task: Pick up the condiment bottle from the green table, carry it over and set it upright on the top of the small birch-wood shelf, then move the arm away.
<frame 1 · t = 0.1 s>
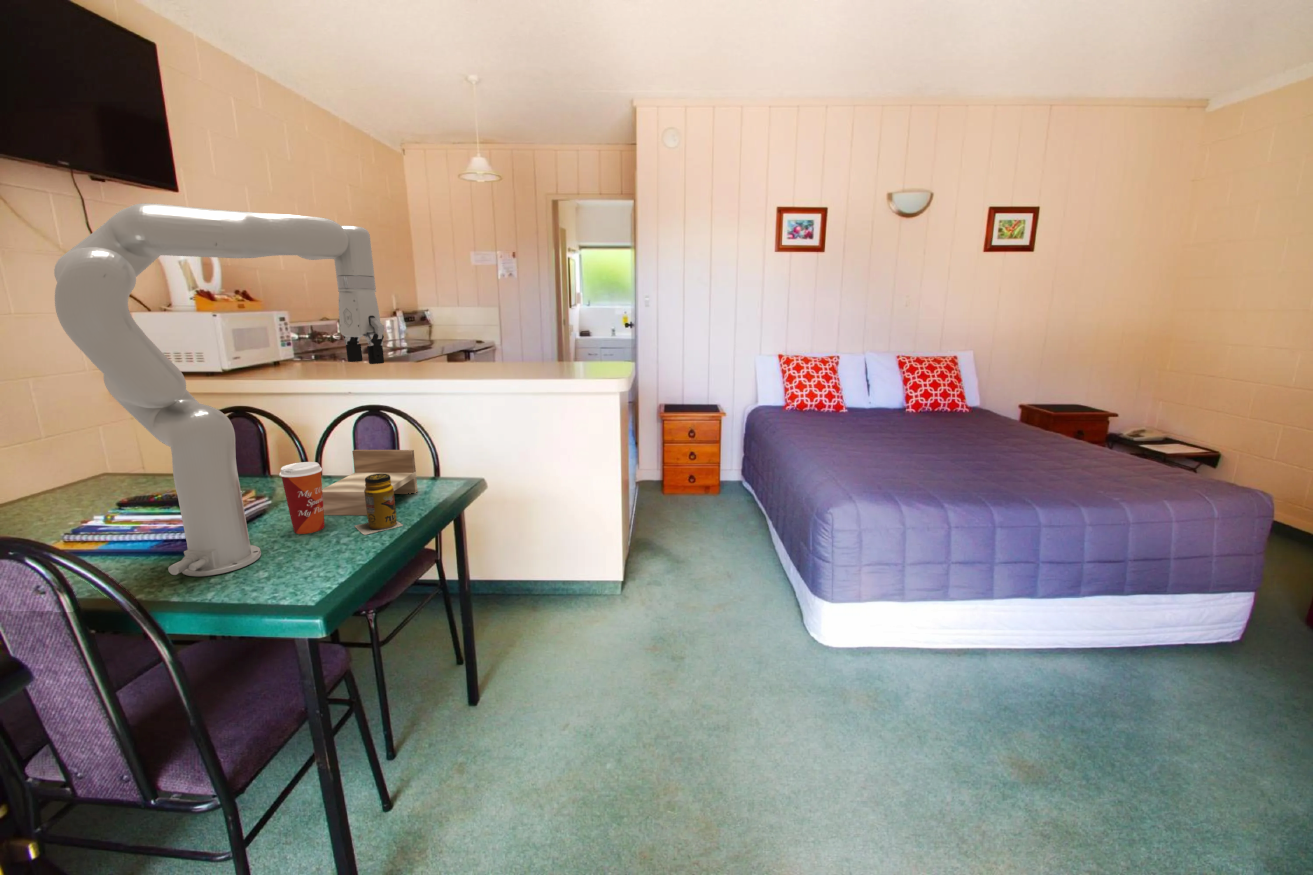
hand: (365, 362, 129), 37 cm above the table, tool pointing down, fingers open, 9 cm apart
shelf: (372, 502, 146), on the table
coffee cup: (309, 529, 129), on the table
condiment: (379, 527, 130), on the table
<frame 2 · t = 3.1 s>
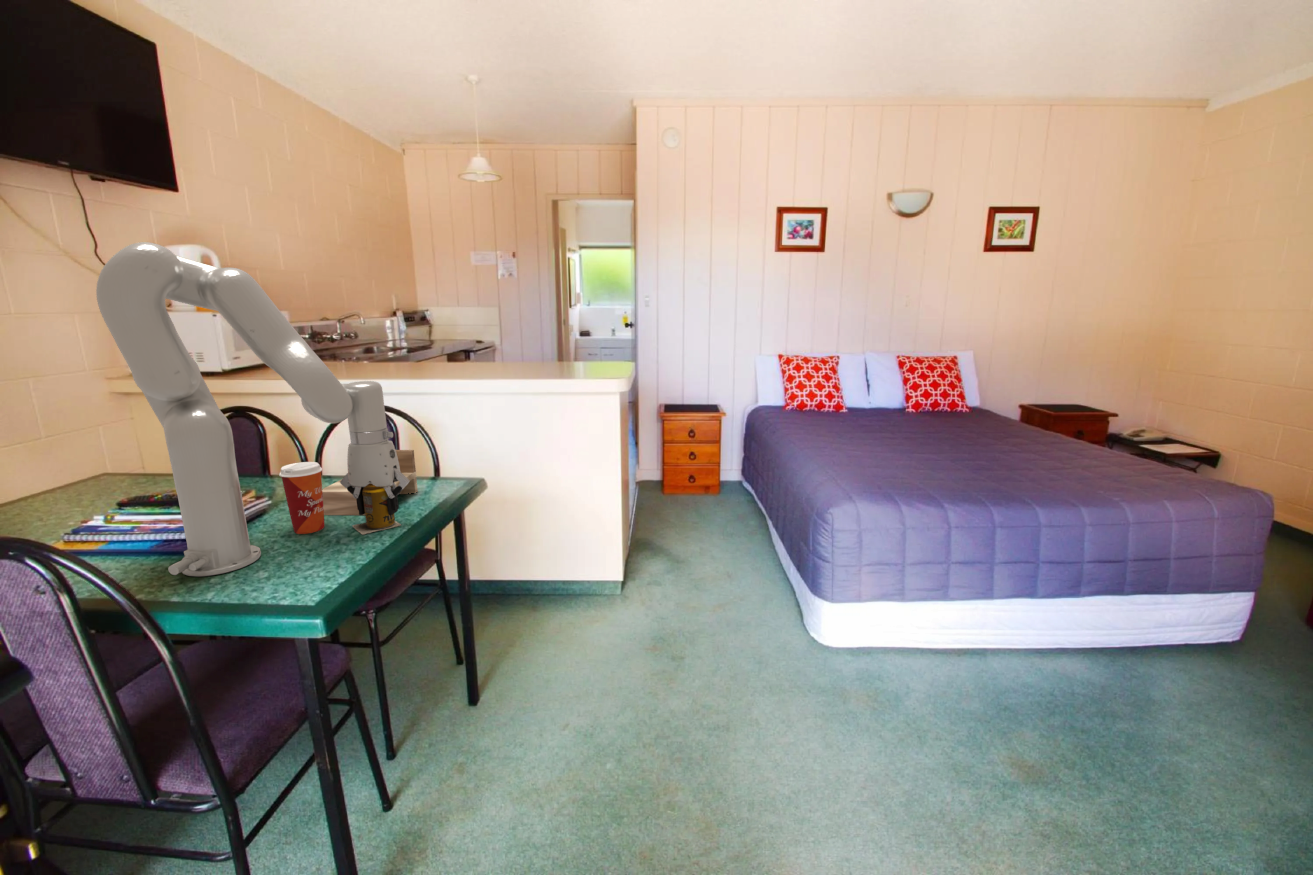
hand: (378, 512, 130), 3 cm above the table, tool pointing down, fingers closed on condiment, 6 cm apart
condiment: (377, 527, 130), on the table, touching gripper
everything else where it was.
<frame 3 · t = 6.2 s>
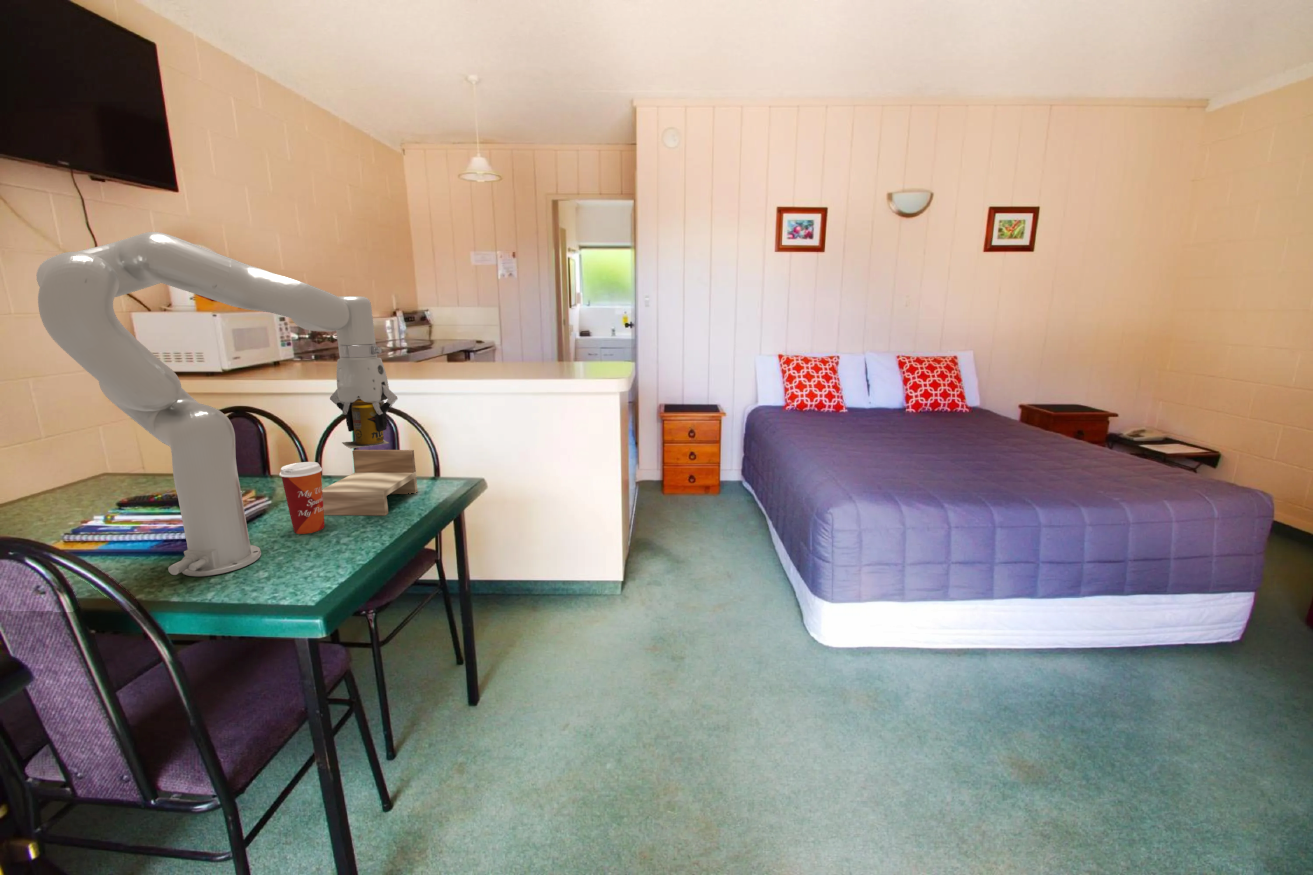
hand: (367, 429, 131), 22 cm above the table, tool pointing down, fingers closed on condiment, 6 cm apart
condiment: (366, 444, 132), point 18 cm above the table, touching gripper
everything else where it was.
when the fingers open (10 cm above the table, at t = 9.5 s): condiment drops 1 cm, resting on shelf.
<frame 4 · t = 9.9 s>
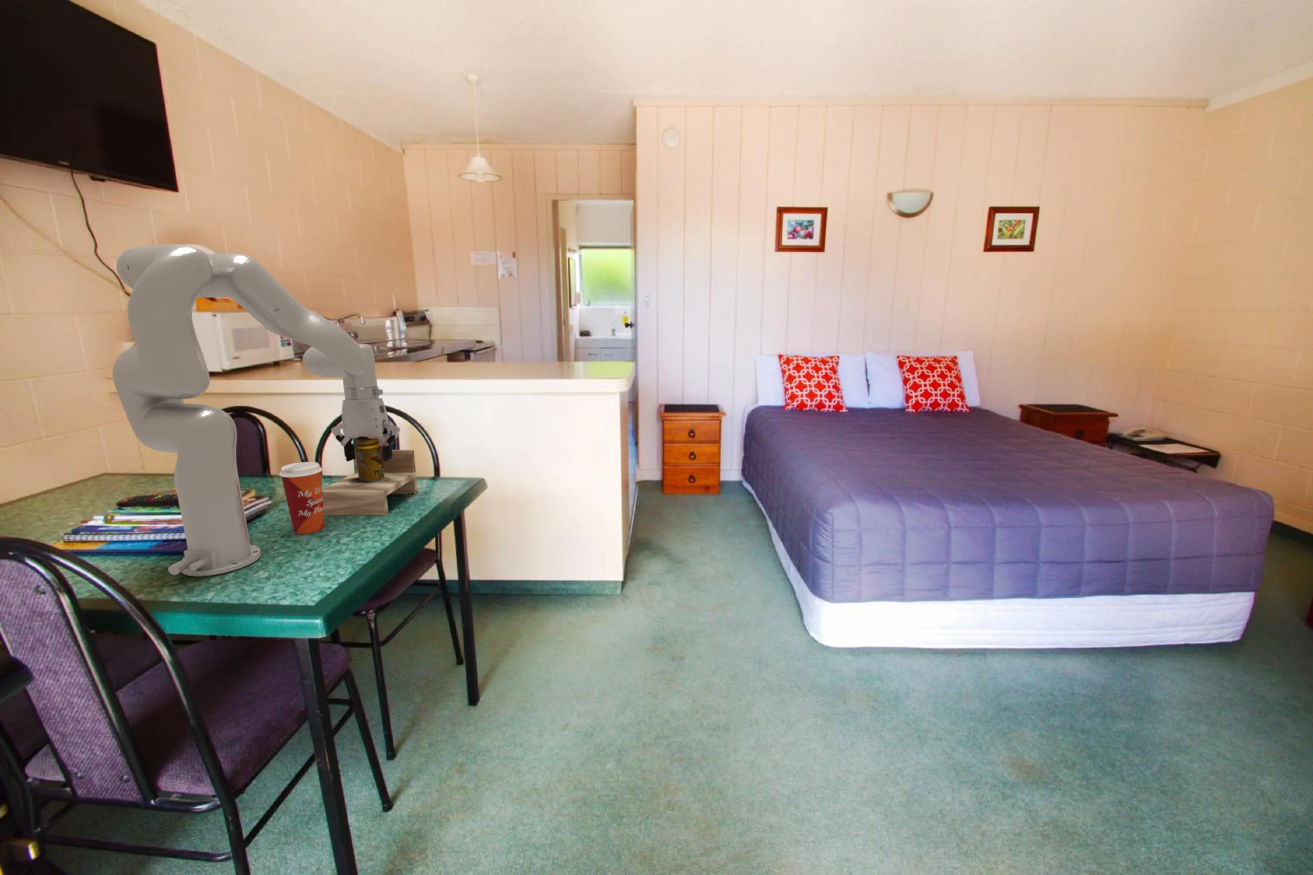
hand: (369, 460, 145), 11 cm above the table, tool pointing down, fingers open, 9 cm apart
condiment: (368, 480, 146), point 6 cm above the table, touching shelf
everything else where it was.
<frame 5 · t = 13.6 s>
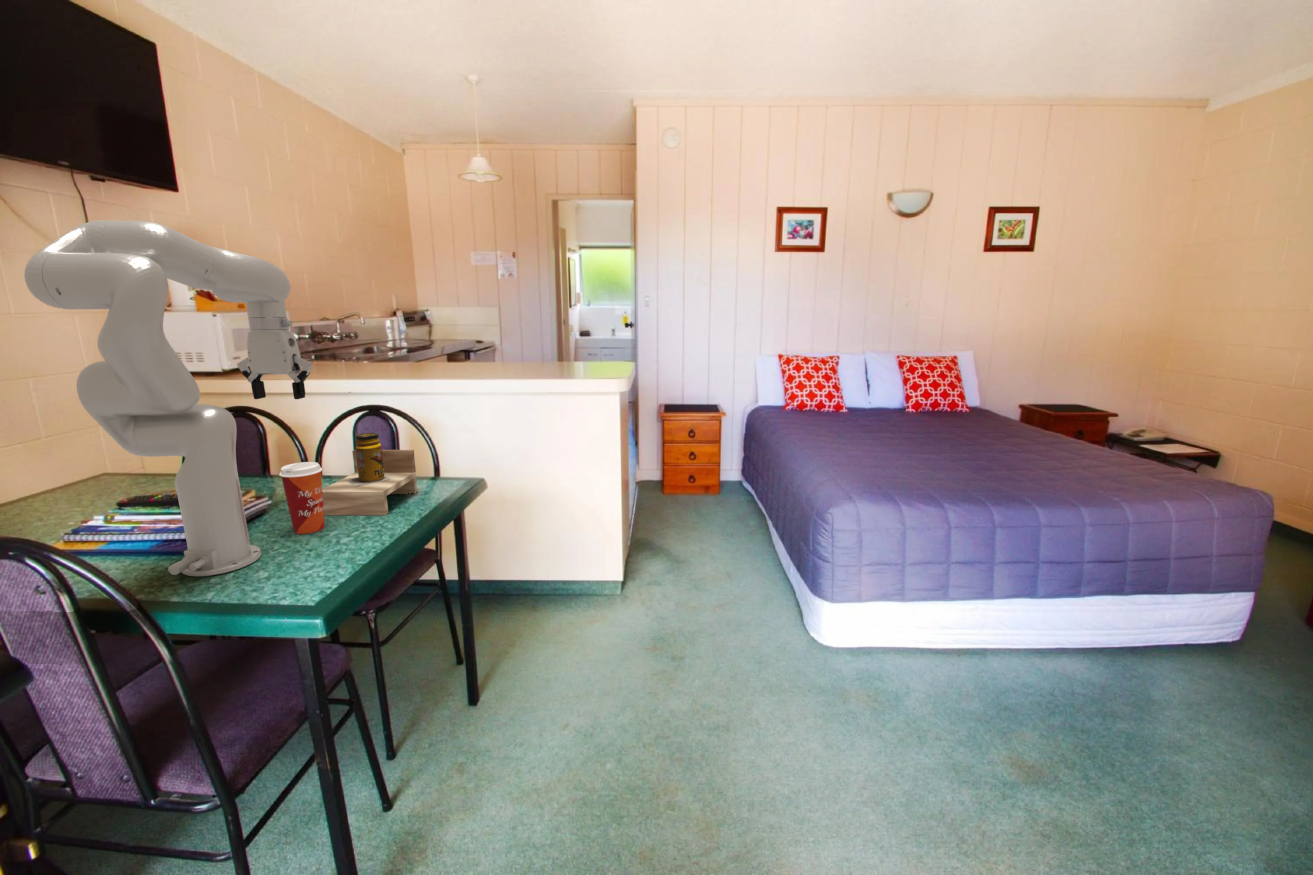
hand: (279, 398, 135), 28 cm above the table, tool pointing down, fingers open, 9 cm apart
nothing on the table moved.
at the end: condiment inside the target area on the shelf (0.9 cm from its centre), point 5.8 cm above the shelf's base; condiment tilted 0°; the gripper is holding nothing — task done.
